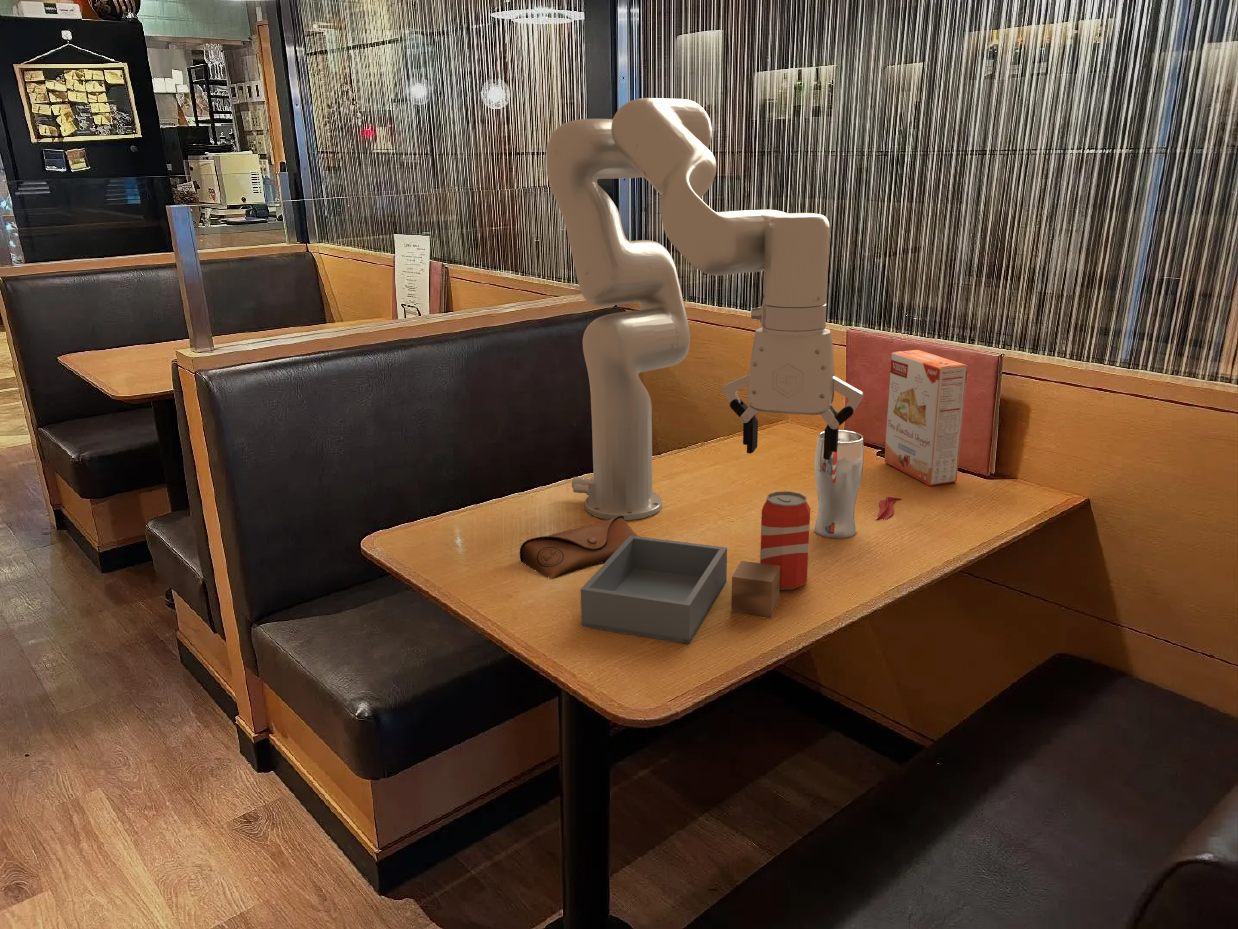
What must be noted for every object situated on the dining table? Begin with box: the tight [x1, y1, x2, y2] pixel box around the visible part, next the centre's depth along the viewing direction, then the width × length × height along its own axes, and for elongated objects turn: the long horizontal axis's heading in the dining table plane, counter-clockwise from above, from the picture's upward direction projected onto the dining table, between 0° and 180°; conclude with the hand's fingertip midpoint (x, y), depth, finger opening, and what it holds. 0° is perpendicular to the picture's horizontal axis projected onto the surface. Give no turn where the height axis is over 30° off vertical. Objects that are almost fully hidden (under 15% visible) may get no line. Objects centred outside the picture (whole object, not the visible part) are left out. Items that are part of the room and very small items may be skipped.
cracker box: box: [883, 349, 968, 487], centre depth 161 cm, size 14×6×21 cm, turn 17°
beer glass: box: [814, 429, 864, 540], centre depth 137 cm, size 7×7×15 cm
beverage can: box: [759, 490, 811, 591], centre depth 121 cm, size 6×6×12 cm
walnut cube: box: [730, 560, 780, 619], centre depth 115 cm, size 5×5×5 cm
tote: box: [579, 535, 728, 645], centre depth 117 cm, size 14×18×5 cm
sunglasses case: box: [519, 516, 638, 580], centre depth 132 cm, size 18×7×7 cm
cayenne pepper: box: [875, 496, 903, 521], centre depth 147 cm, size 12×5×2 cm, turn 135°
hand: (789, 453), depth 117 cm, fingers open, 9 cm apart
